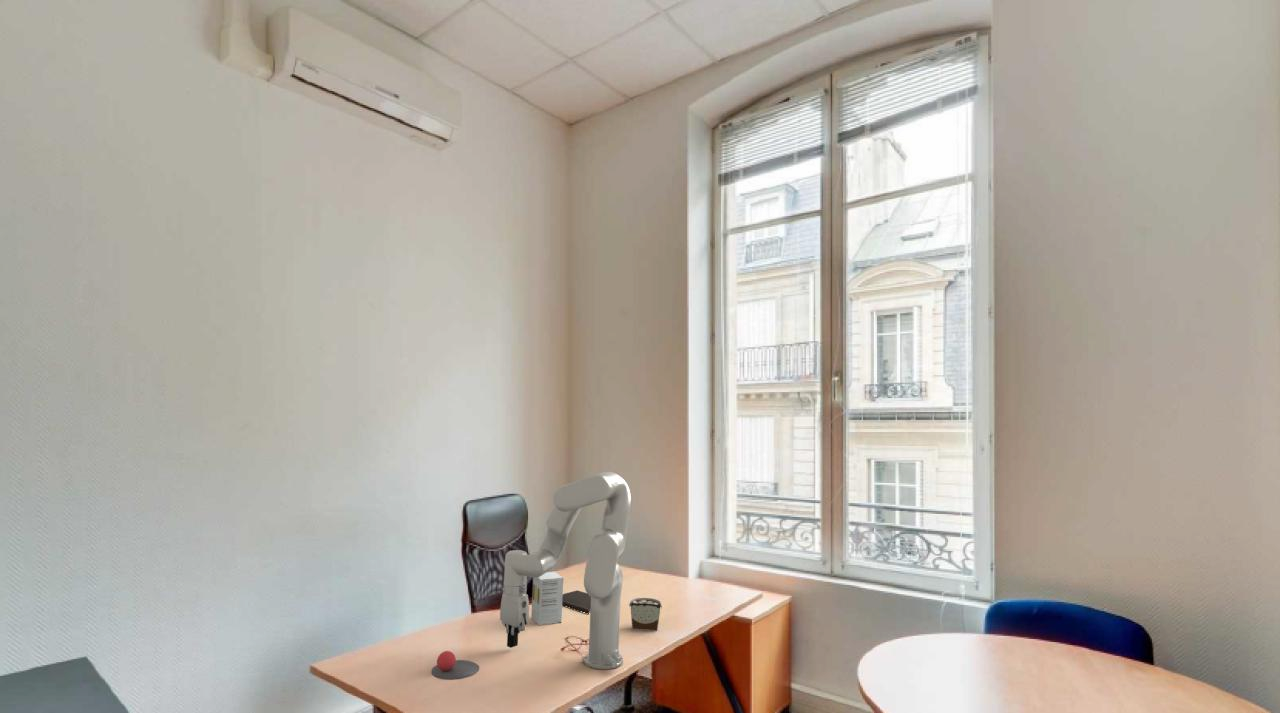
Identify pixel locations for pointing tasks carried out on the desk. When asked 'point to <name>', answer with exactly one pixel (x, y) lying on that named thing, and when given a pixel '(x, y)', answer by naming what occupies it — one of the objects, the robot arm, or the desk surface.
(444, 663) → the ball
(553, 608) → the supplement box
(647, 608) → the food container
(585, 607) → the hardcover book
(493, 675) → the desk surface
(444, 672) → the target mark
